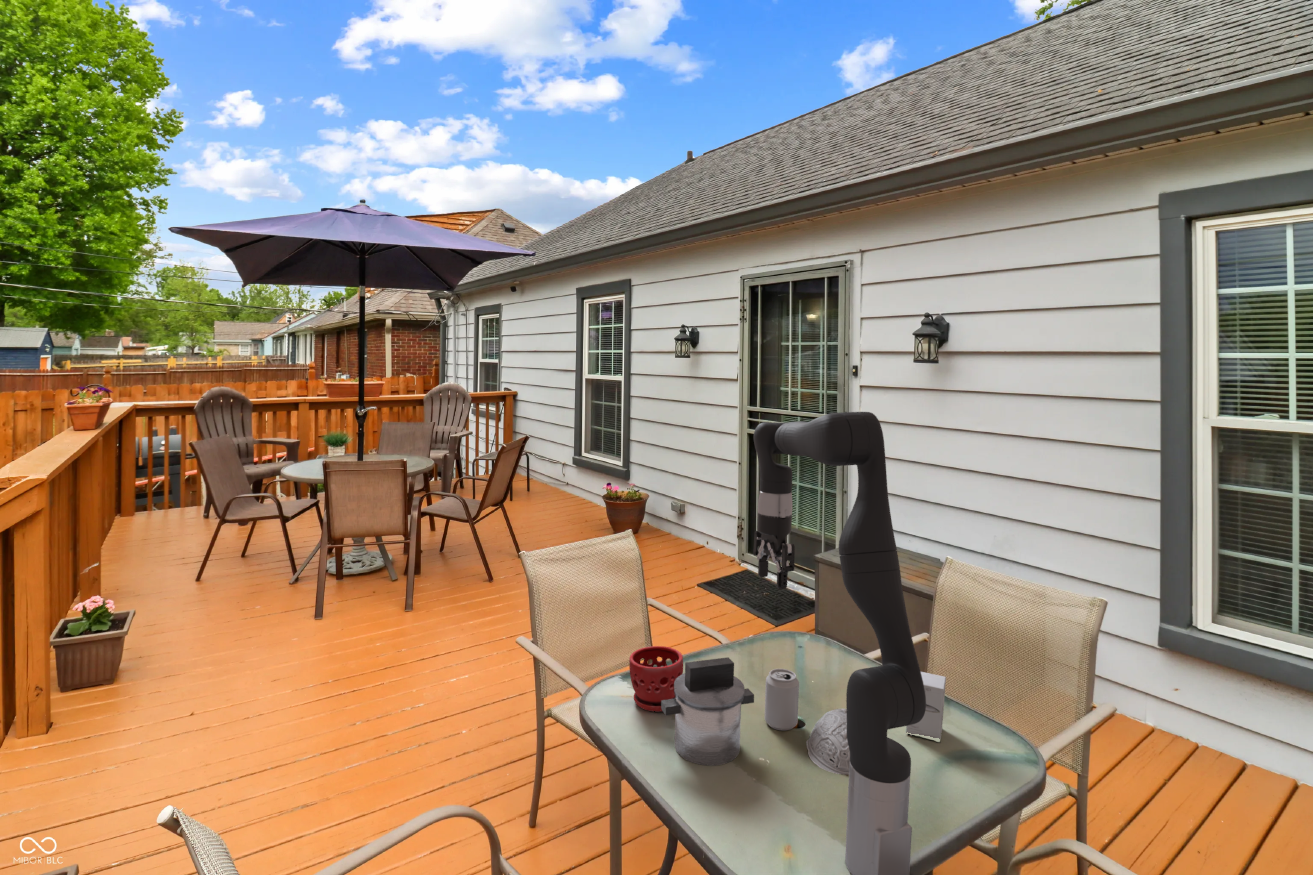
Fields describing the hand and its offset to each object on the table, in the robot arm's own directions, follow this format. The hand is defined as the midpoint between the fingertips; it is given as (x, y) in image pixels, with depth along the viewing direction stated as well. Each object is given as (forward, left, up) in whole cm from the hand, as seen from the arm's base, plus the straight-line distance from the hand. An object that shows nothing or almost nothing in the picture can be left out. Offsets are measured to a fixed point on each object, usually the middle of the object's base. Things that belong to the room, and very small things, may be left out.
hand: (772, 582), depth 144 cm
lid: (-4, +17, -22) cm, 28 cm away
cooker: (-4, +17, -34) cm, 38 cm away
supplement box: (-12, -33, -34) cm, 49 cm away
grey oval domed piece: (-12, -13, -34) cm, 38 cm away
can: (0, -3, -34) cm, 34 cm away
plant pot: (+17, +22, -34) cm, 43 cm away
